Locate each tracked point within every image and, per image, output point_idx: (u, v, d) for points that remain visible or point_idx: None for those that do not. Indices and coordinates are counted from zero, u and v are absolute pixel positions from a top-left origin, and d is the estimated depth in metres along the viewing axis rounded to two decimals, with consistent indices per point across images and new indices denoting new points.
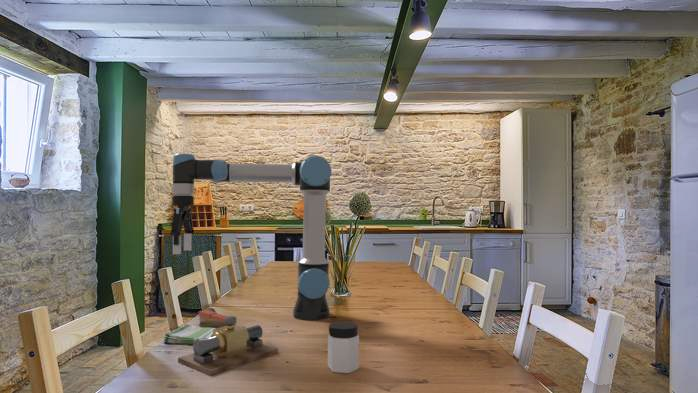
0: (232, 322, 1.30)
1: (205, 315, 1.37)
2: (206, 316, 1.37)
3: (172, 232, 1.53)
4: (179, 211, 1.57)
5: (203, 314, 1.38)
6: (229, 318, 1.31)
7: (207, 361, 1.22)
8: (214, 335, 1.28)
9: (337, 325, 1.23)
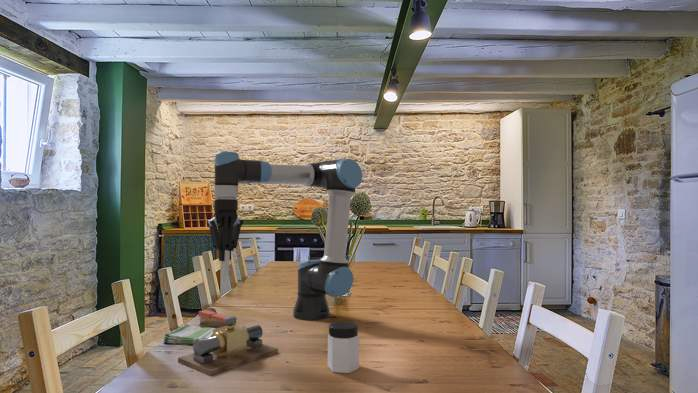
0: (232, 322, 1.30)
1: (205, 315, 1.37)
2: (206, 316, 1.37)
3: (214, 247, 1.41)
4: (211, 224, 1.39)
5: (203, 314, 1.38)
6: (229, 318, 1.31)
7: (207, 361, 1.22)
8: (214, 335, 1.28)
9: (337, 325, 1.23)
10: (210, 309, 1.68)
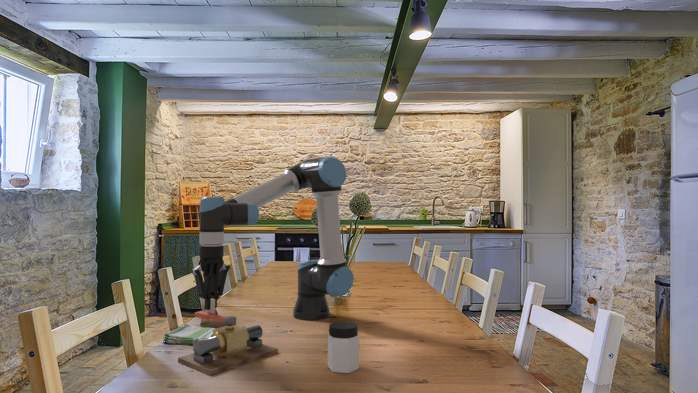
0: (233, 322, 1.30)
1: (202, 316, 1.36)
2: (203, 317, 1.36)
3: (199, 295, 1.37)
4: (196, 274, 1.34)
5: (200, 315, 1.37)
6: (229, 318, 1.31)
7: (207, 361, 1.22)
8: (214, 335, 1.28)
9: (337, 325, 1.23)
10: None
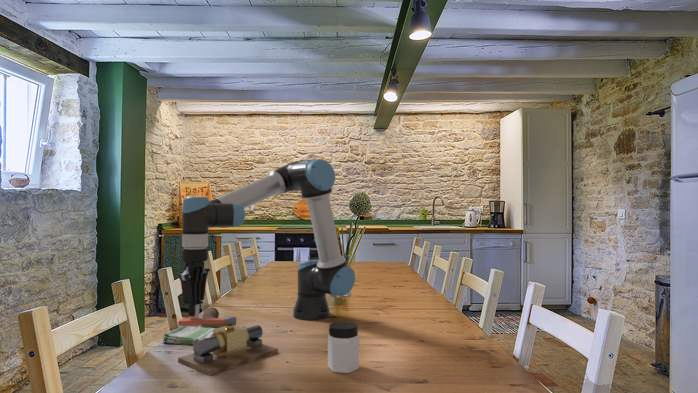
0: (235, 321, 1.31)
1: (191, 323, 1.28)
2: (193, 323, 1.28)
3: (185, 302, 1.28)
4: (185, 279, 1.26)
5: (187, 322, 1.28)
6: (231, 318, 1.31)
7: (207, 361, 1.22)
8: (214, 335, 1.28)
9: (337, 325, 1.23)
10: (212, 309, 1.68)
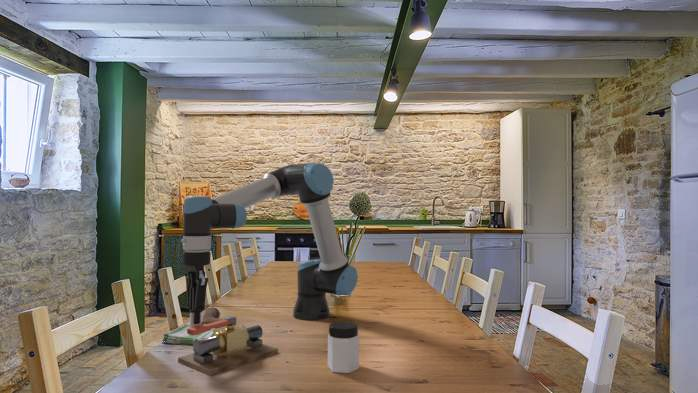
0: None
1: (204, 329, 1.21)
2: (206, 329, 1.22)
3: (197, 309, 1.20)
4: (205, 283, 1.20)
5: (201, 330, 1.21)
6: (232, 317, 1.32)
7: (207, 361, 1.22)
8: (214, 335, 1.28)
9: (337, 325, 1.23)
10: (213, 309, 1.68)
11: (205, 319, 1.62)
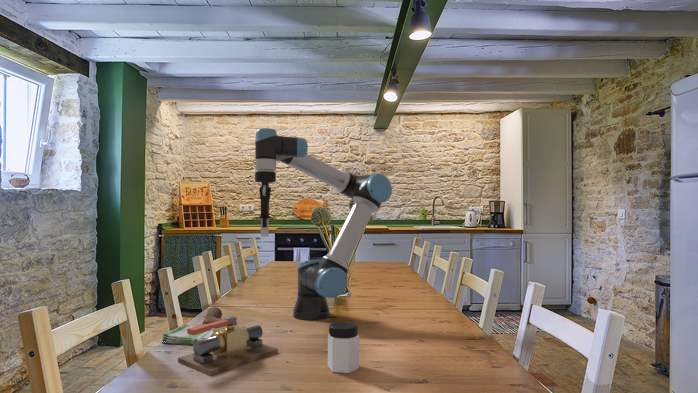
0: None
1: (204, 329, 1.21)
2: (206, 329, 1.22)
3: (262, 214, 1.55)
4: (266, 194, 1.53)
5: (201, 330, 1.21)
6: (232, 317, 1.32)
7: (207, 361, 1.22)
8: (214, 335, 1.28)
9: (337, 325, 1.23)
10: (215, 309, 1.68)
11: (206, 319, 1.62)
